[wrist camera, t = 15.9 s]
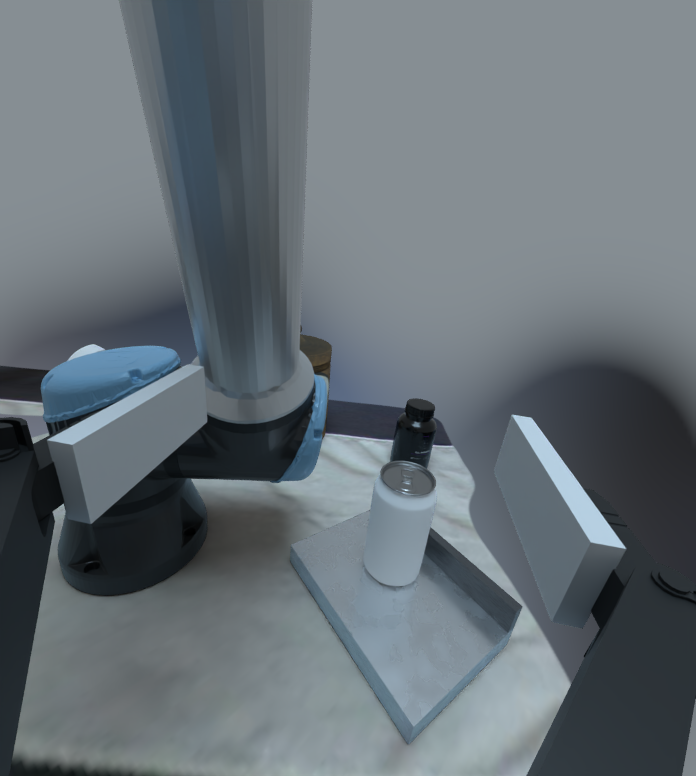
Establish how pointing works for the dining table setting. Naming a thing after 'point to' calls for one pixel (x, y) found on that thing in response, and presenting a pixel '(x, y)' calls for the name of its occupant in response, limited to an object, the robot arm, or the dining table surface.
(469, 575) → the grey tray
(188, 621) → the dining table surface
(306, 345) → the wooden container
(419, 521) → the can
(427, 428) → the supplement bottle
